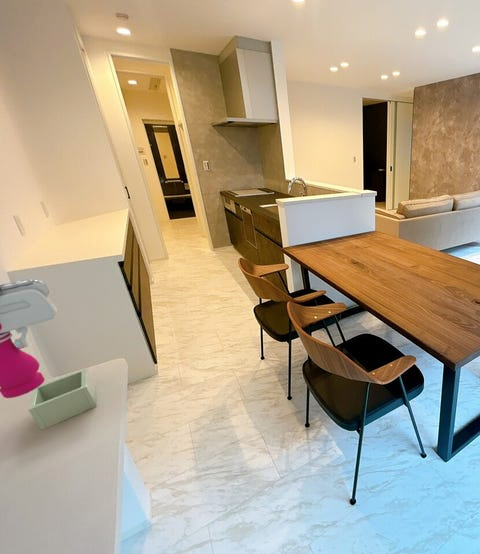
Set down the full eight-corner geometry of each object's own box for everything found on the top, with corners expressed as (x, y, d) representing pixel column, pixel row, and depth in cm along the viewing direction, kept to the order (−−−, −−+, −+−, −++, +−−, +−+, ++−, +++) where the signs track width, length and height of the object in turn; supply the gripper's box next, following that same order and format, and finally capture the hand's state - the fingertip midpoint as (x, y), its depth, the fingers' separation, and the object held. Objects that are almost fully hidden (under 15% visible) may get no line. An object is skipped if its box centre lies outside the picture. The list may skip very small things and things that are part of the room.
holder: (41, 430, 77) (28, 409, 74) (45, 406, 84) (33, 387, 82) (96, 406, 83) (86, 386, 81) (95, 386, 91) (85, 368, 88)
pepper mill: (48, 371, 69) (2, 295, 62) (47, 386, 64) (-3, 305, 57) (2, 388, 65) (-54, 308, 57) (-3, 406, 60) (-64, 320, 52)
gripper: (42, 272, 64) (71, 327, 70) (-122, 307, 52) (-72, 370, 57) (39, 280, 60) (70, 337, 65) (-141, 319, 48) (-85, 386, 53)
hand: (2, 353), depth 61 cm, fingers closed on pepper mill, 4 cm apart
